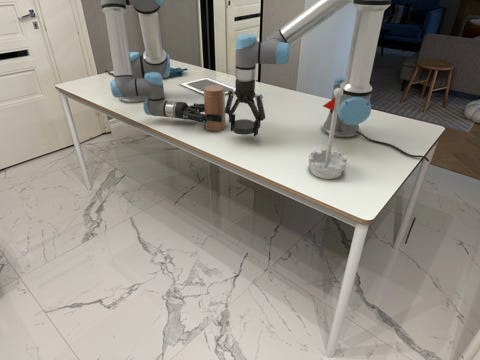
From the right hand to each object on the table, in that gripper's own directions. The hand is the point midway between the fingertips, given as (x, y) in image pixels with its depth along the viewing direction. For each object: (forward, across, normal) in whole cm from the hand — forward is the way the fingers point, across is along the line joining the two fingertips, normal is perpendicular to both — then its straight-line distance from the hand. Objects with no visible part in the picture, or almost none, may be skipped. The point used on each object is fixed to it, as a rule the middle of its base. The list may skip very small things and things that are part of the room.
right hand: (244, 132), depth 141 cm
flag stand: (+3, -37, +10) cm, 39 cm away
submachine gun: (+4, +90, -61) cm, 109 cm away
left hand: (-3, +13, -7) cm, 15 cm away
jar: (+3, +17, -6) cm, 19 cm away
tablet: (+4, +48, -53) cm, 72 cm away
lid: (-3, 0, 0) cm, 3 cm away
